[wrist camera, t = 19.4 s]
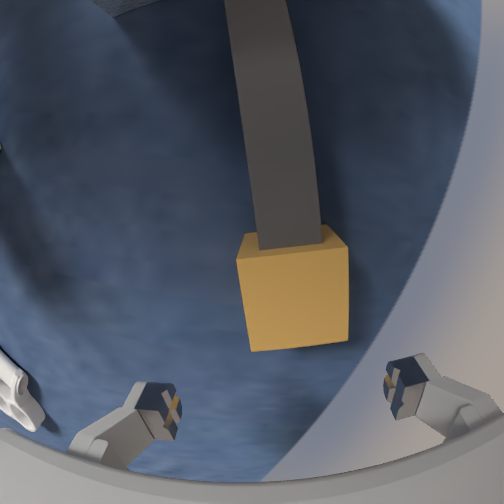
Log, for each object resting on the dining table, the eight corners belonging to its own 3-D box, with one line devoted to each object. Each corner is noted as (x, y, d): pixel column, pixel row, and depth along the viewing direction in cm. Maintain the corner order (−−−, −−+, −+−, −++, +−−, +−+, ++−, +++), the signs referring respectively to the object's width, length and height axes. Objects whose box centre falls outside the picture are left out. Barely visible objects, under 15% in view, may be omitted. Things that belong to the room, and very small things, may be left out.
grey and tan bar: (212, 0, 13) (196, -41, 8) (288, -8, 13) (293, -51, 8) (255, 306, 19) (251, 351, 14) (330, 298, 19) (348, 340, 14)
